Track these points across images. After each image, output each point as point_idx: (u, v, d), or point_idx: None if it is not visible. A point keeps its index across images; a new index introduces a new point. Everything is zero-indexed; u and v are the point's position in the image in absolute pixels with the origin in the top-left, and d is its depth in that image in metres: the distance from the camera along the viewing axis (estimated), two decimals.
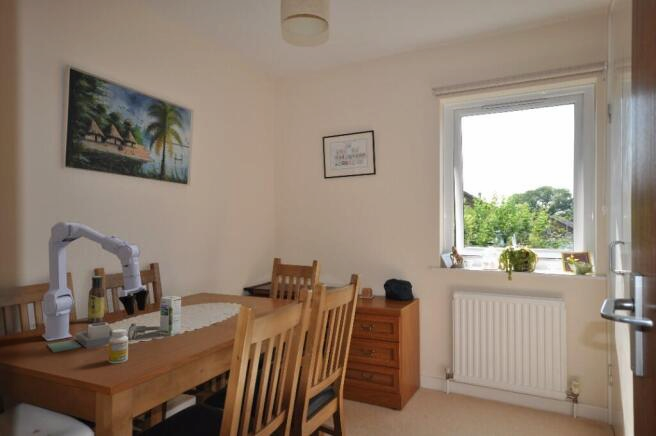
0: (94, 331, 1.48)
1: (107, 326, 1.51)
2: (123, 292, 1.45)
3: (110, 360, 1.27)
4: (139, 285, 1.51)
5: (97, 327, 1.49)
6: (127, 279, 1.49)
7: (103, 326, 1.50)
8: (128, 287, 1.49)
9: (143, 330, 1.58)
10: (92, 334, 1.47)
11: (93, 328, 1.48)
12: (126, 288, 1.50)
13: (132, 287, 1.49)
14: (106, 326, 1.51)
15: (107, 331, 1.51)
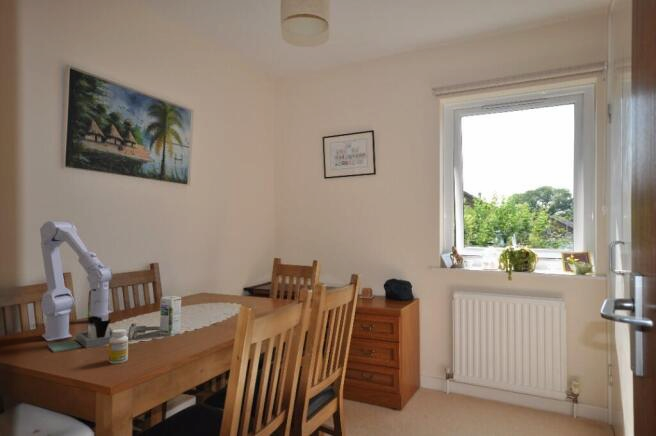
0: (94, 331, 1.48)
1: None
2: (106, 316, 1.46)
3: (110, 360, 1.27)
4: (107, 309, 1.53)
5: None
6: (101, 303, 1.49)
7: None
8: (101, 311, 1.49)
9: (143, 330, 1.58)
10: (92, 334, 1.47)
11: (93, 328, 1.48)
12: (98, 312, 1.48)
13: (105, 311, 1.50)
14: None
15: (107, 331, 1.51)
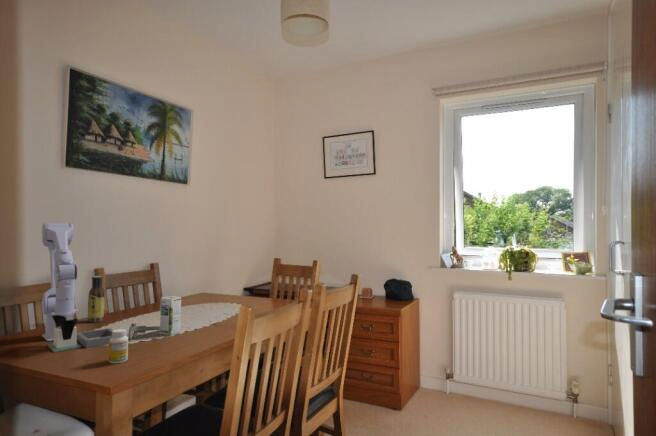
0: (60, 334, 1.40)
1: (74, 329, 1.43)
2: (71, 315, 1.38)
3: (110, 360, 1.27)
4: (74, 308, 1.45)
5: None
6: (66, 301, 1.41)
7: None
8: (66, 310, 1.41)
9: (143, 330, 1.58)
10: (57, 338, 1.40)
11: (58, 331, 1.40)
12: (62, 311, 1.41)
13: (70, 310, 1.42)
14: (73, 329, 1.43)
15: (74, 334, 1.43)
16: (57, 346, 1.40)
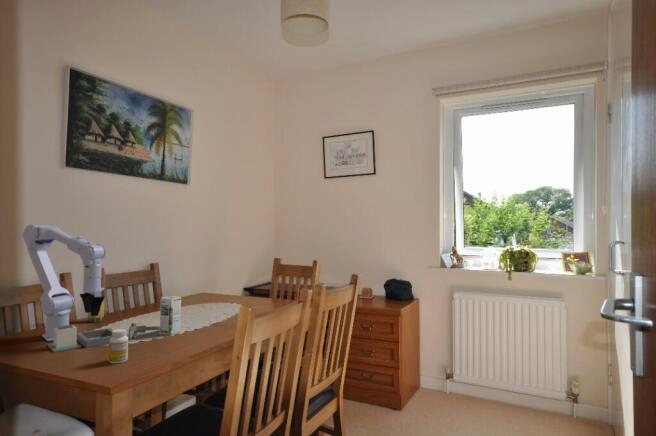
0: (60, 334, 1.40)
1: (74, 329, 1.43)
2: (99, 292, 1.46)
3: (110, 360, 1.27)
4: (100, 286, 1.53)
5: (63, 330, 1.41)
6: (94, 280, 1.49)
7: (70, 329, 1.43)
8: (94, 288, 1.49)
9: (143, 330, 1.58)
10: (57, 338, 1.40)
11: (58, 331, 1.40)
12: (90, 289, 1.49)
13: (97, 288, 1.50)
14: (73, 329, 1.43)
15: (74, 334, 1.43)
16: (57, 346, 1.40)
